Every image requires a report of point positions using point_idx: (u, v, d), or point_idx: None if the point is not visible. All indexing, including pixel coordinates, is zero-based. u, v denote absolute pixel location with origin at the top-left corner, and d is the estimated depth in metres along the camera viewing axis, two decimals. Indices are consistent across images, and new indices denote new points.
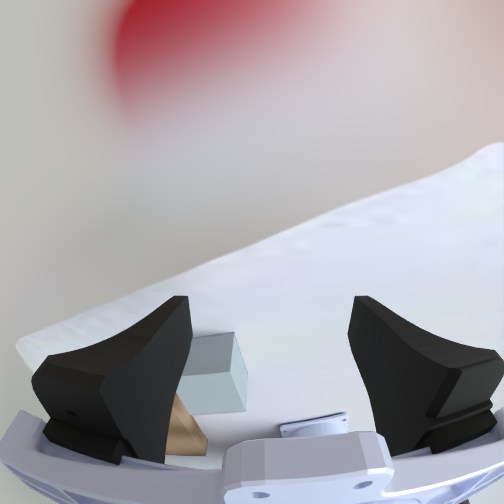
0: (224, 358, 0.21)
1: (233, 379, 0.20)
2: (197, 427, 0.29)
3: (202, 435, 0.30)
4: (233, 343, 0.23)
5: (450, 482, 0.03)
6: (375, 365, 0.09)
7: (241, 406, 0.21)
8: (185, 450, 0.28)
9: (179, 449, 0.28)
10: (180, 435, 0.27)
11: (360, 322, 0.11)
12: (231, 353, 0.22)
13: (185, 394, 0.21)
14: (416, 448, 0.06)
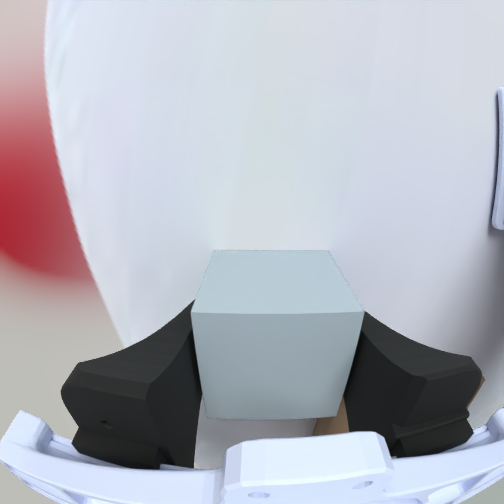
0: None
1: (226, 310, 0.08)
2: None
3: None
4: (212, 263, 0.11)
5: (450, 482, 0.03)
6: None
7: (339, 318, 0.08)
8: None
9: None
10: None
11: None
12: (204, 280, 0.10)
13: (263, 409, 0.10)
14: None
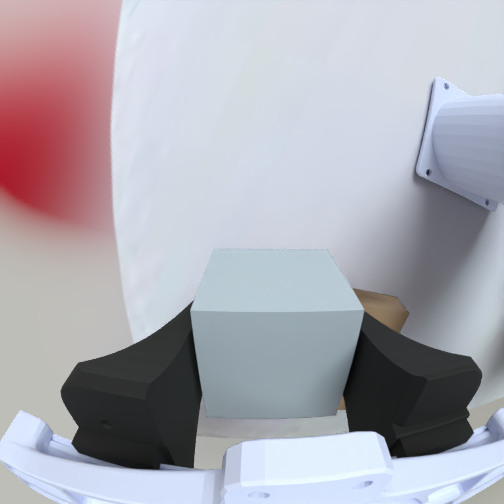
0: None
1: (226, 309, 0.08)
2: (359, 291, 0.21)
3: (379, 295, 0.21)
4: (212, 262, 0.11)
5: (450, 482, 0.03)
6: None
7: (339, 316, 0.08)
8: None
9: None
10: None
11: None
12: (203, 279, 0.10)
13: (262, 408, 0.10)
14: None
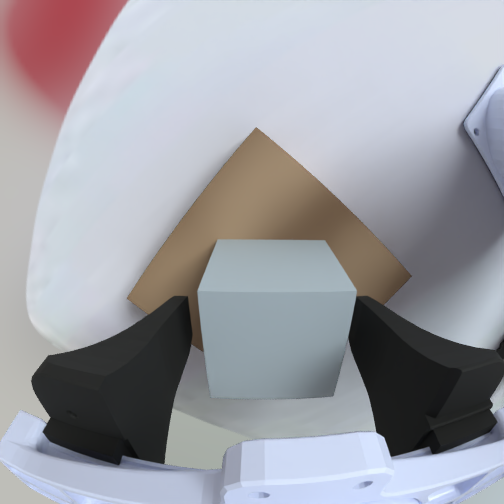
0: None
1: (230, 289, 0.09)
2: None
3: None
4: (216, 251, 0.12)
5: (450, 482, 0.03)
6: (375, 365, 0.09)
7: (333, 296, 0.09)
8: (370, 289, 0.14)
9: None
10: (336, 232, 0.13)
11: (360, 322, 0.11)
12: (209, 265, 0.11)
13: (263, 388, 0.10)
14: (416, 448, 0.06)
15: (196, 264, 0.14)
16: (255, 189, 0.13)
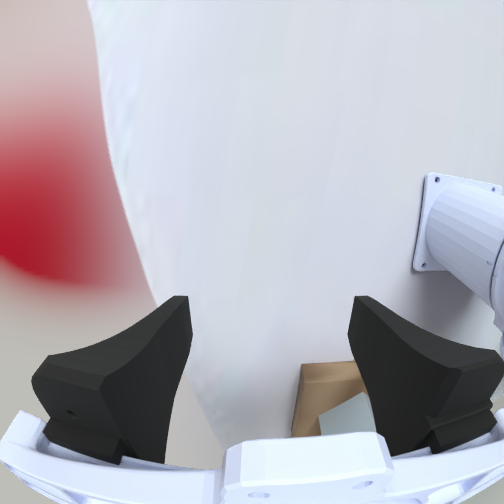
0: None
1: None
2: None
3: None
4: (321, 426, 0.23)
5: (450, 482, 0.03)
6: (375, 365, 0.09)
7: None
8: None
9: None
10: None
11: (360, 322, 0.11)
12: None
13: None
14: (416, 448, 0.06)
15: (315, 425, 0.25)
16: (321, 397, 0.23)
